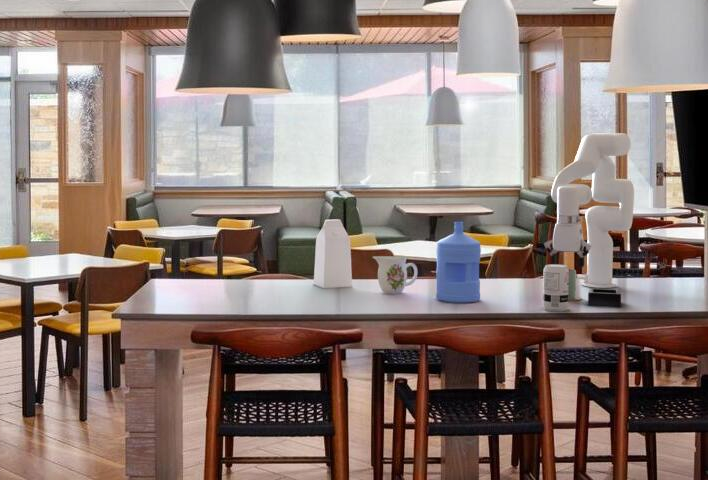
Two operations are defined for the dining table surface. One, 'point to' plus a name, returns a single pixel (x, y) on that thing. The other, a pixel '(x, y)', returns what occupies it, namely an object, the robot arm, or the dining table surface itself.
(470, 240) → the water jug
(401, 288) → the pitcher
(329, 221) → the milk
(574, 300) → the coaster
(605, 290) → the black square frame
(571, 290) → the cup
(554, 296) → the supplement can
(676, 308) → the dining table surface
